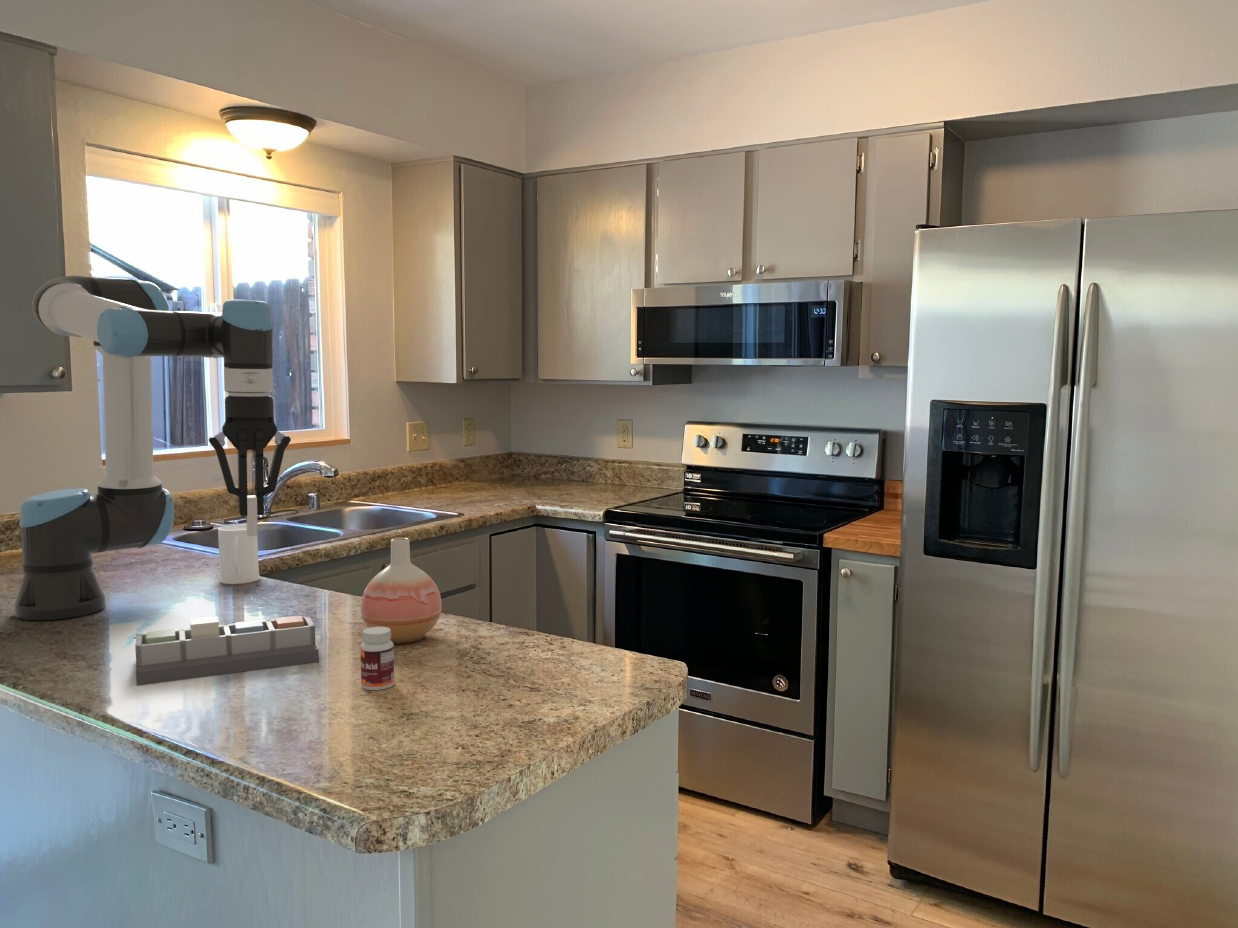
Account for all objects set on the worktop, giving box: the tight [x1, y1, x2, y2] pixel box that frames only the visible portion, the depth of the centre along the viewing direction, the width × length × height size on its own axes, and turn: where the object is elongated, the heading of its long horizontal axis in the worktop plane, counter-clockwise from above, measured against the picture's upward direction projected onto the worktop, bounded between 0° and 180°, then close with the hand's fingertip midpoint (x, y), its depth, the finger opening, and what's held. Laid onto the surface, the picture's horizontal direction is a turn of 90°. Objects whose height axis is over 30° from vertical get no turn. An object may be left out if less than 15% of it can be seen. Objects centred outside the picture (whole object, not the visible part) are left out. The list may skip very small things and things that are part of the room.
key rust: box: [274, 615, 304, 629], centre depth 154 cm, size 4×4×3 cm
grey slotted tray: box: [134, 615, 320, 686], centre depth 150 cm, size 26×14×5 cm, turn 116°
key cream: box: [189, 615, 220, 639], centre depth 148 cm, size 4×4×3 cm
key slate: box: [233, 619, 263, 634], centre depth 151 cm, size 4×4×3 cm
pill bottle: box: [359, 627, 395, 691], centre depth 138 cm, size 5×5×8 cm
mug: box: [217, 524, 261, 585], centre depth 208 cm, size 12×8×12 cm
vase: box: [360, 537, 443, 645], centre depth 162 cm, size 14×14×18 cm
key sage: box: [146, 628, 176, 644], centre depth 146 cm, size 4×4×3 cm
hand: (252, 534), depth 158 cm, fingers closed
